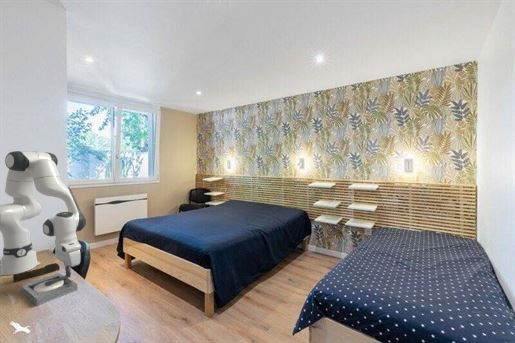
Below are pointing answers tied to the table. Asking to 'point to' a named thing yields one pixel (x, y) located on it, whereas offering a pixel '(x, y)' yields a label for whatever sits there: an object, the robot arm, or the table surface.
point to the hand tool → (36, 272)
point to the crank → (52, 283)
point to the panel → (49, 295)
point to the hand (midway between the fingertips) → (67, 270)
